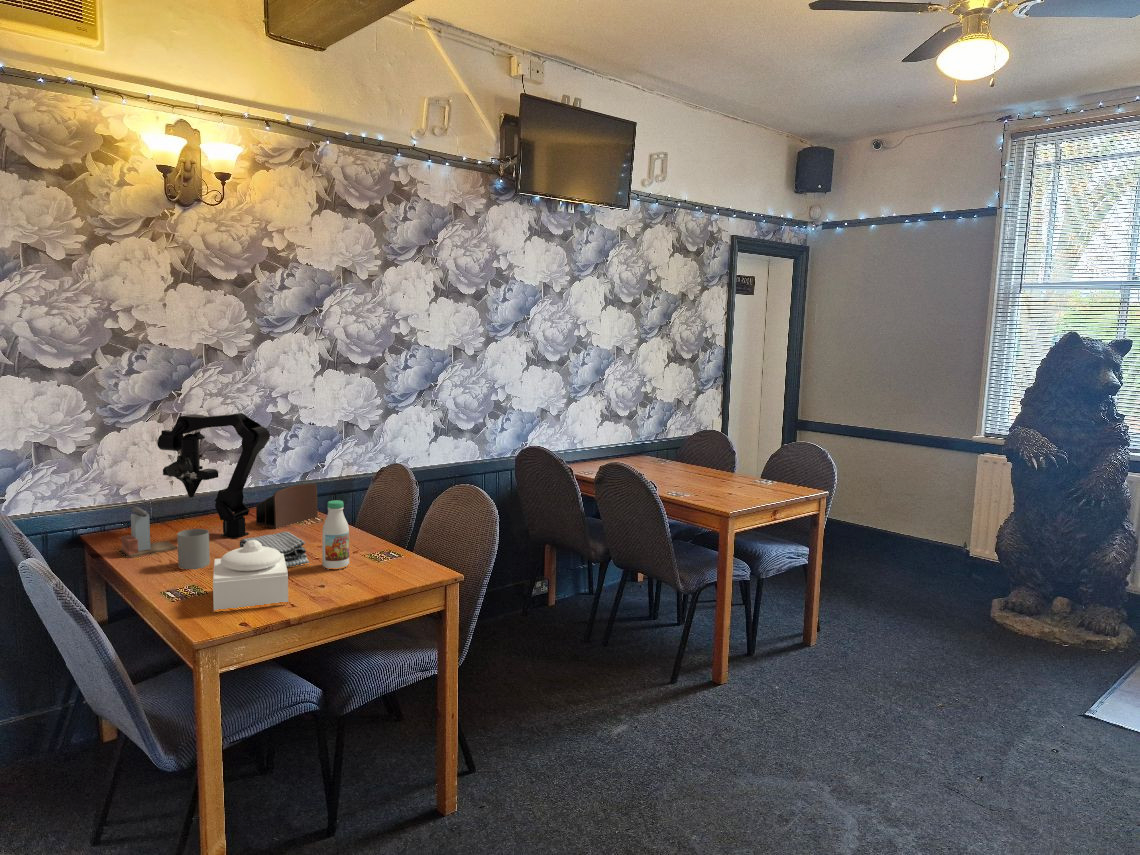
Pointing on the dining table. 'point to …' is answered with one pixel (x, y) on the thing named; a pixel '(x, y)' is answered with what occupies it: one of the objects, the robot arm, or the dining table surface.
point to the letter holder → (288, 506)
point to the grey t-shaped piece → (141, 528)
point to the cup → (193, 548)
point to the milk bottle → (335, 537)
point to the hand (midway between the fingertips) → (191, 497)
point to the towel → (283, 547)
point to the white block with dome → (250, 577)
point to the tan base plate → (131, 549)
